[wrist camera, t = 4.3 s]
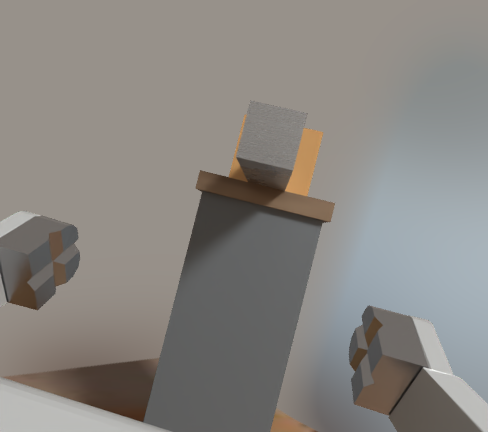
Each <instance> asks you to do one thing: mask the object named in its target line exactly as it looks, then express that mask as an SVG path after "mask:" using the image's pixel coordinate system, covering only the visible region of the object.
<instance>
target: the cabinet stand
mask: <svg viewBox="0 0 488 432" xmlns="http://www.w3.org/2000/svg"><path fill="white" fill-rule="evenodd" d="M196 189H198V190H200V191H202V195H201V199H200V203H199V207H198V211H197V215H196V219H195V222H194V226H193V230H192V234H191V238H190V242H189V246H188V250H187V254H186V257H185V261H184V266H183V269H182V273H181V277H180V281H179V285H178V289H177V293H176V297H175V300H174V304H173V308H172V313H171V316H170V320H169V324H168V328H167V332H166V335H165V340H164V344H163V347H162V351H161V355H160V359H159V363H158V367H157V371H156V374H155V378H154V382H153V386H152V390H151V394H150V398H149V402H148V406H147V410H146V413H145V417H144V421H143V423H146V424H150V425H153V426H156V427H159V428H162V429H165V430H168V431H172V432H270V430H271V426H272V422H273V418H274V414H275V410H276V406H277V401H278V398H279V394H280V390H281V386H282V382H283V378H284V374H285V370H286V366H287V362H288V358H289V354H290V350H291V346H292V342H293V338H294V334H295V330H296V326H297V322H298V318H299V314H300V310H301V306H302V302H303V298H304V294H305V290H306V286H307V282H308V278H309V274H310V270H311V266H312V262H313V258H314V254H315V250H316V246H317V242H318V238H319V234H320V230H321V226H322V223H324V222H330V221H331V217H332V213H333V209H334V205H335V203H332V202H327V201H324V200H320V199H315V198H311V197H307V196H303V195H299V194H295V193H291V192H287V191H283V190H279V189H274V188H270V187H266V186H262V185H258V184H254V183H250V182H246V181H242V180H238V179H233V178H229V177H225V176H221V175H217V174H213V173H208V172H205V171H201V170H200V173H199V177H198V181H197V184H196Z"/></svg>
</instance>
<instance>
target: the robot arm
mask: <svg viewBox="0 0 488 432" xmlns="http://www.w3.org/2000/svg"><path fill="white" fill-rule="evenodd" d="M77 239H78V232H77V228H76V227H75V226H74V225H72V224H68V223H65V222H61V221H58V220H55V219H51V218H48V217H45V216H40V215H37V214H34V213H30V212H27V211H19V212H17V213H15V214H13V215H11V216H10V217H8V218H6V219H4V220H2V221H1V222H0V307H1V306H3V305H6V304H7V302H9V303H12V304H16V305H20V306H24V307H28V308H31V309H35V310H39V308H41V306H43V305H44V304H45V303H46V302H47V301H48V300H49V299H50V298H51V297H52V296H53V295H54V294H55V292H56V286H59V285H61V284H64V283H67V282H68V281H69V280H70V279H71V278H72V277H73V275H74V274H75V272H76V270H77V268H78V266H79V261H80V253H79V250H78V249H77V247H76V246H75V244H74V243H75V242H76V241H77ZM362 321H363V325H361V326H359V327H358V328H356V329H355V331H354V333H353V336H352V338H351V343H350V347H349V361H350V365H351V366H352V368H353V369H354V371H355V373H354V375H353V377H352V379H351V382H352V391H353V400H354V404H355V405H358V406H361V407H364V408H367V409H370V410H373V411H377V412H379V413H383V414H386V415H389V419H390V420H391V422H392V423H393V425H394V427H395V429H396V430H397V432H488V404H487V403H486V402H485V401H484V400H483V399H482V398H481V397H480V396H479V395H478V394H477V393H476V392H475V391H474V390H473V389H471V387H470V386H469V385H468V384H467V383H466V382H465V381H464V380H462V378H460V377H456V376H454V374H453V372H452V369H451V368H450V365H449V362H448V360H447V357H446V355H445V353H444V351H443V348H442V346H441V343H440V341H439V338H438V336H437V333H436V331H435V329H434V326H433V324H432V323H431V322H430V321H429V320H425V319H421V318H416V317H413V316H406V315H403V314H399V313H395V312H391V311H387V310H384V309H380V308H376V307H373V306H368V307H367V308H366V309H365V311H364V313H363V315H362ZM0 432H172V431H168V430H165V429H162V428H159V427H156V426H153V425H150V424H146V423H143V422H140V421H137V420H134V419H131V418H128V417H124V416H121V415H118V414H115V413H112V412H109V411H106V410H102V409H99V408H96V407H93V406H90V405H87V404H84V403H80V402H77V401H74V400H71V399H68V398H65V397H62V396H59V395H55V394H52V393H49V392H46V391H43V390H40V389H37V388H33V387H30V386H27V385H24V384H21V383H18V382H15V381H12V380H8V379H5V378H2V377H0Z"/></svg>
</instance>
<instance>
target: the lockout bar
mask: <svg viewBox="0 0 488 432" xmlns="http://www.w3.org/2000/svg"><path fill="white" fill-rule="evenodd" d="M306 118H307V113H304V112H300V111H295V110H290V109H286V108H281V107H277V106H272V105H268V104H263V103H259V102H255V101H250V104H249V108H248V112H247V115H245V116H244V120H243V124H242V127H241V131H240V135H239V139H238V143H237V147H236V151H235V155H234V159H233V163H232V167H231V171H230V174H229V178H233V179H238V180H242V181H246V182H250V183H254V184H258V185H262V186H266V187H270V188H274V189H279V190H283V191H287V192H291V193H295V194H299V195H303V196H307V195H308V191H309V187H310V183H311V179H312V175H313V171H314V167H315V163H316V159H317V155H318V151H319V147H320V143H321V139H322V136H323V132H320V131H316V130H311V129H307V128H304V126H305V122H306Z"/></svg>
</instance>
